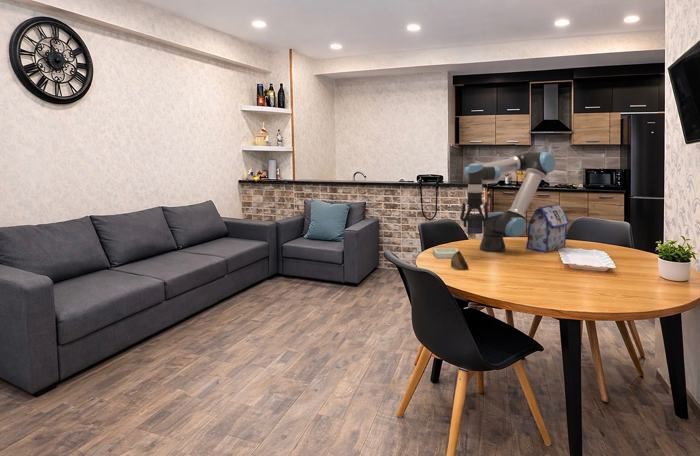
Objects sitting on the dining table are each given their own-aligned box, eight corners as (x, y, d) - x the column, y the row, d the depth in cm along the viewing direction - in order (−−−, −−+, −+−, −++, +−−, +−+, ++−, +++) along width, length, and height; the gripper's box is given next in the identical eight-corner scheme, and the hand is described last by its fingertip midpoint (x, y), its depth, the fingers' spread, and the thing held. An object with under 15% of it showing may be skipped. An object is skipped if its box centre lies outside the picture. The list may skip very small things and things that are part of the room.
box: (479, 232, 256) (480, 213, 254) (482, 234, 251) (482, 215, 249) (465, 232, 256) (466, 213, 254) (468, 234, 251) (468, 215, 249)
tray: (456, 252, 272) (456, 248, 271) (461, 258, 258) (461, 253, 257) (432, 253, 272) (432, 248, 271) (436, 258, 258) (436, 253, 257)
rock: (445, 261, 243) (447, 263, 233) (455, 248, 242) (458, 249, 232) (461, 273, 243) (465, 275, 233) (471, 260, 242) (475, 262, 232)
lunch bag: (550, 254, 265) (553, 208, 261) (524, 249, 278) (526, 206, 273) (569, 248, 279) (572, 205, 274) (543, 244, 292) (546, 203, 287)
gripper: (491, 190, 253) (490, 231, 257) (454, 191, 253) (453, 231, 257) (495, 192, 246) (494, 233, 249) (457, 193, 246) (456, 234, 250)
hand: (473, 232), depth 253 cm, fingers closed on box, 8 cm apart
